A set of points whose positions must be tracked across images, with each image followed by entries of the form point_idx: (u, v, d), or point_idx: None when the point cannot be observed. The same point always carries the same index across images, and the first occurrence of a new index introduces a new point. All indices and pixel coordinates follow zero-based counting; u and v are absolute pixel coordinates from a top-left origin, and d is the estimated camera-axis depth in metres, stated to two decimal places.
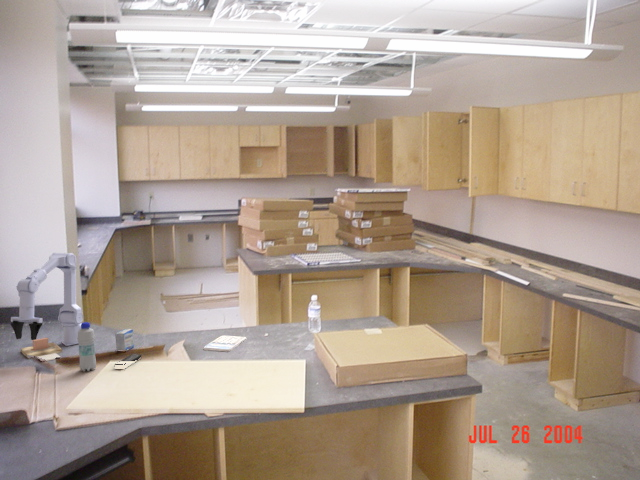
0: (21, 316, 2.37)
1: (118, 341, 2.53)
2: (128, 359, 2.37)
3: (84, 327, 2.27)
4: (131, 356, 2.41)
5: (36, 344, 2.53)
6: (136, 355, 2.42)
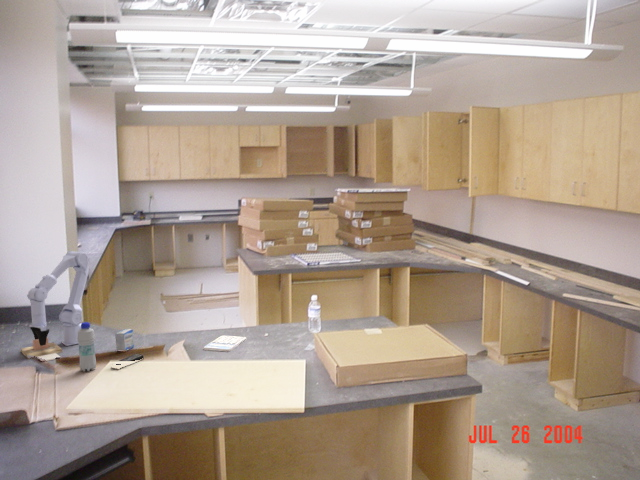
0: (32, 323, 2.53)
1: (118, 341, 2.53)
2: (127, 359, 2.37)
3: (84, 327, 2.27)
4: (132, 356, 2.41)
5: (36, 344, 2.53)
6: (138, 355, 2.42)
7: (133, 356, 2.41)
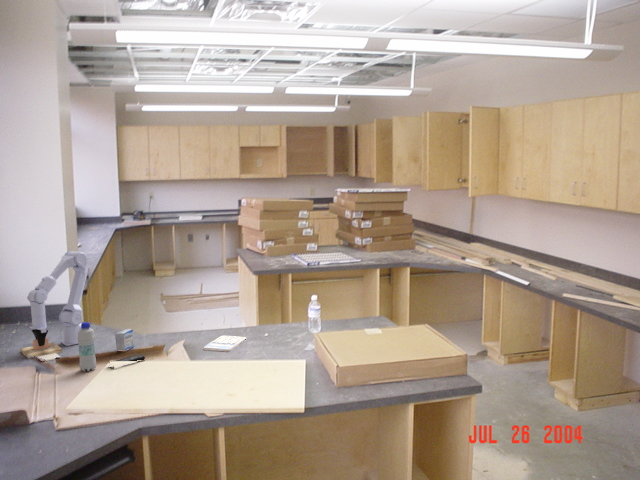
0: (32, 324, 2.53)
1: (118, 341, 2.53)
2: (126, 359, 2.37)
3: (84, 327, 2.27)
4: (134, 356, 2.41)
5: (36, 344, 2.53)
6: (139, 356, 2.41)
7: (134, 356, 2.41)
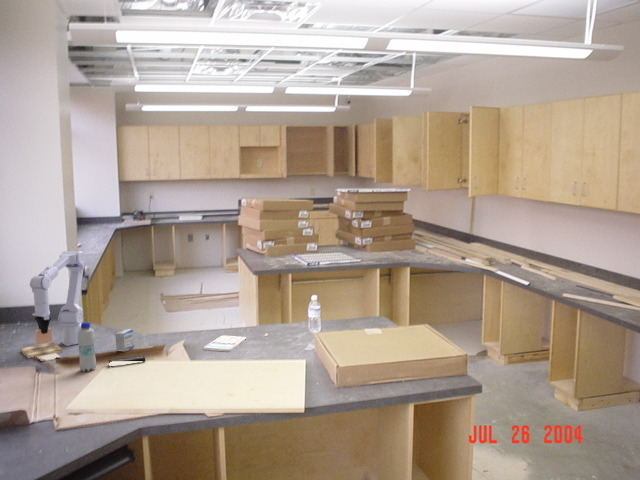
0: (35, 311, 2.46)
1: (118, 341, 2.53)
2: (126, 359, 2.38)
3: (84, 327, 2.27)
4: (135, 357, 2.40)
5: (38, 334, 2.47)
6: (139, 357, 2.39)
7: (135, 357, 2.40)
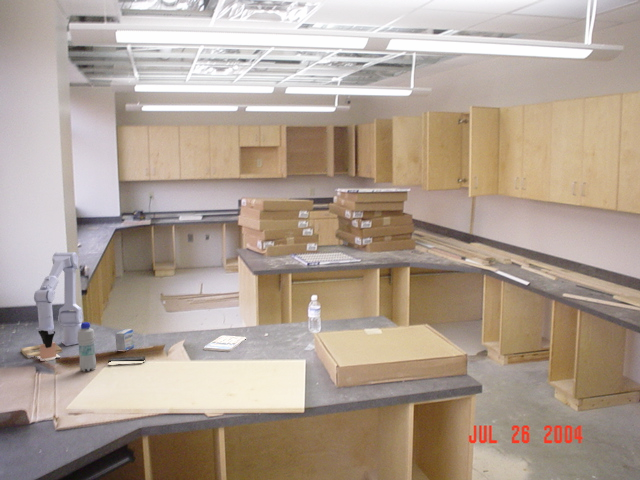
0: (39, 325, 2.43)
1: (118, 341, 2.53)
2: (125, 358, 2.38)
3: (84, 327, 2.27)
4: (135, 357, 2.39)
5: (43, 349, 2.44)
6: (138, 358, 2.38)
7: (135, 357, 2.39)
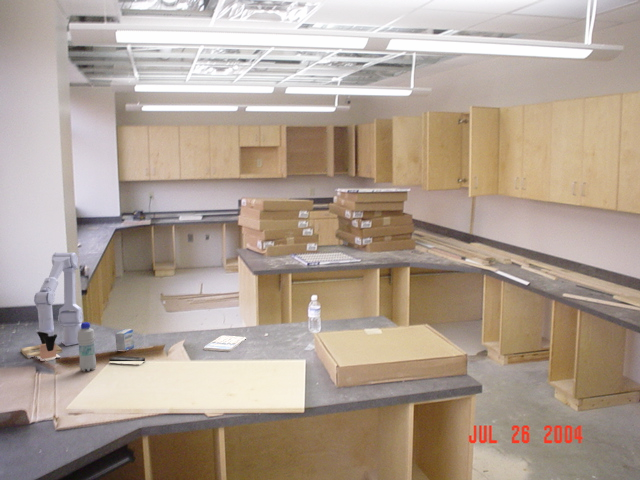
0: (39, 327, 2.43)
1: (118, 341, 2.53)
2: (125, 358, 2.38)
3: (84, 327, 2.27)
4: (135, 358, 2.38)
5: (43, 349, 2.44)
6: (136, 359, 2.37)
7: (135, 358, 2.38)
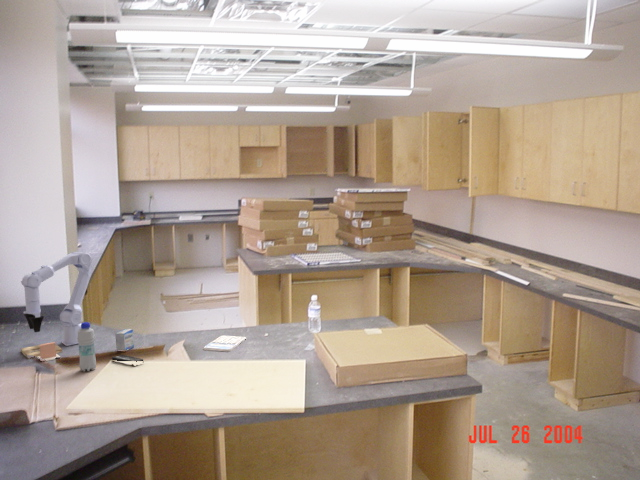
0: (26, 309, 2.51)
1: (118, 341, 2.53)
2: (126, 358, 2.39)
3: (84, 327, 2.27)
4: (134, 359, 2.38)
5: (43, 349, 2.44)
6: (134, 360, 2.36)
7: (134, 359, 2.37)
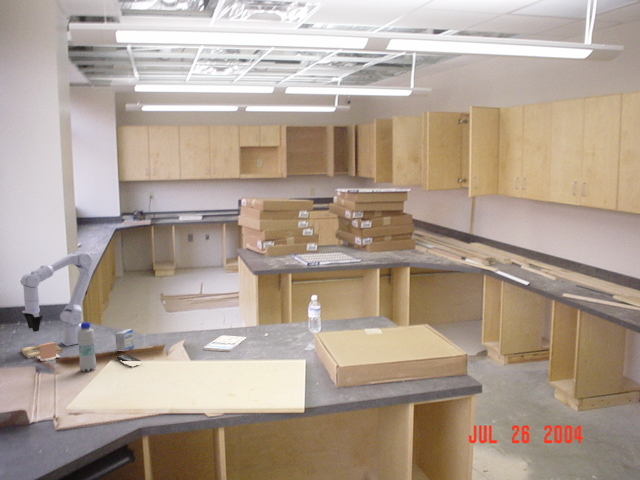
0: (25, 309, 2.52)
1: (118, 341, 2.53)
2: (126, 357, 2.39)
3: (84, 327, 2.27)
4: (133, 359, 2.37)
5: (43, 349, 2.44)
6: None
7: (132, 359, 2.37)
